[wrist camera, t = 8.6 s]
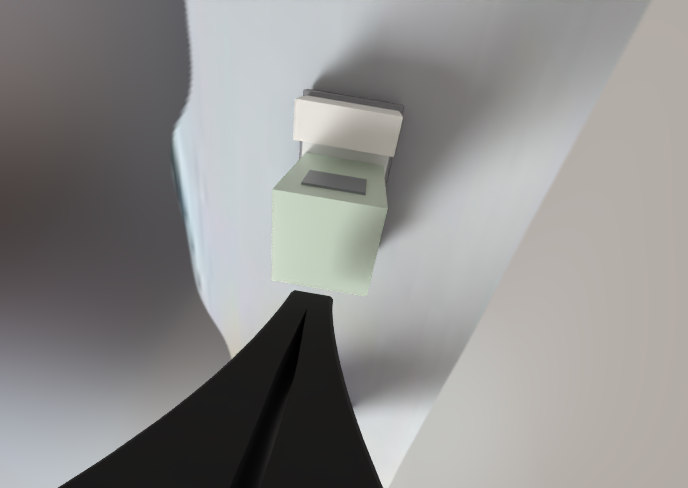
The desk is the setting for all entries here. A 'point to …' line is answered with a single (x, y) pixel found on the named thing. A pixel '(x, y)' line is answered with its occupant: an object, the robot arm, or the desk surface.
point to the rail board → (347, 127)
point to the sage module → (328, 223)
